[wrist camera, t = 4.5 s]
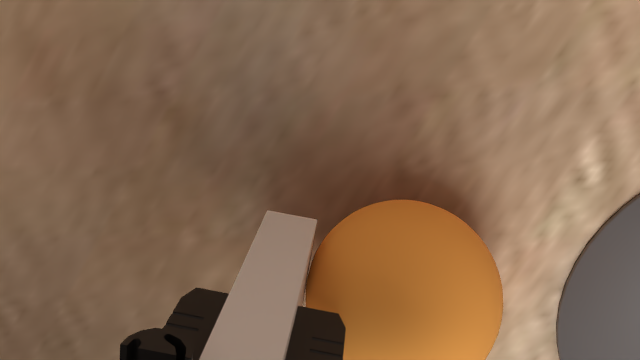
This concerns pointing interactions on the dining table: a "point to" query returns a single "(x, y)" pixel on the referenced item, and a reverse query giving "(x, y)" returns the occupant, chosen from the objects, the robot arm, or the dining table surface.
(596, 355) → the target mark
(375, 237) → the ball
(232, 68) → the dining table surface
